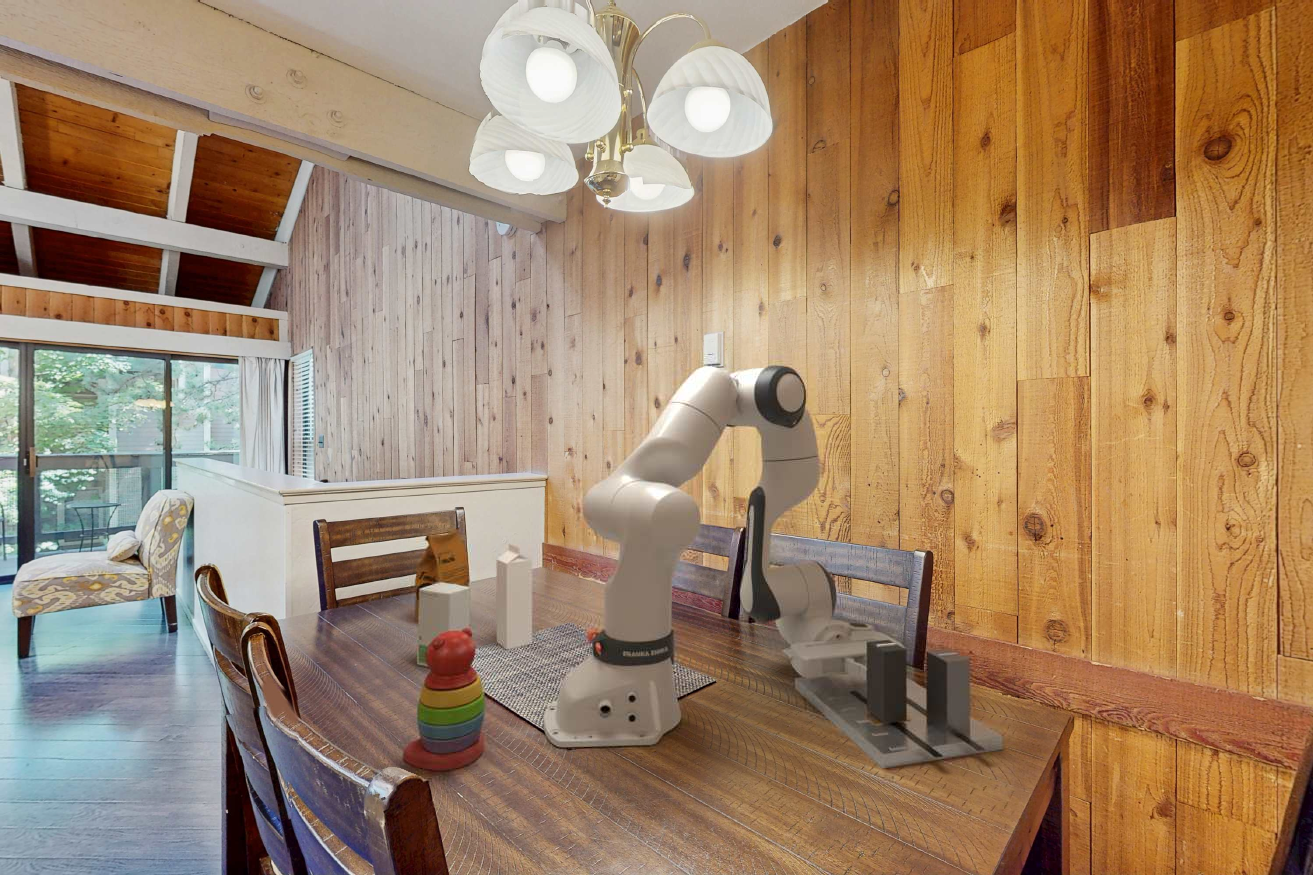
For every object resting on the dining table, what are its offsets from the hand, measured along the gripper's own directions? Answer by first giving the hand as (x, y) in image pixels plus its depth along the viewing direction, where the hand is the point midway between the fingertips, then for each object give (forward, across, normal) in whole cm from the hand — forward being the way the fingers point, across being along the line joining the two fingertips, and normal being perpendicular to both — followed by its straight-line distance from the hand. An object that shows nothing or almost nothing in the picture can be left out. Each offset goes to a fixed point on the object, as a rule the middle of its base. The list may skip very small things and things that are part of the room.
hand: (874, 674), depth 94 cm
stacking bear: (-7, -66, +8) cm, 67 cm away
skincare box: (-42, -71, +8) cm, 83 cm away
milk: (-51, -57, +8) cm, 77 cm away
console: (+1, +3, +7) cm, 8 cm away
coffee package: (-74, -75, +8) cm, 105 cm away
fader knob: (+3, 0, +5) cm, 6 cm away
